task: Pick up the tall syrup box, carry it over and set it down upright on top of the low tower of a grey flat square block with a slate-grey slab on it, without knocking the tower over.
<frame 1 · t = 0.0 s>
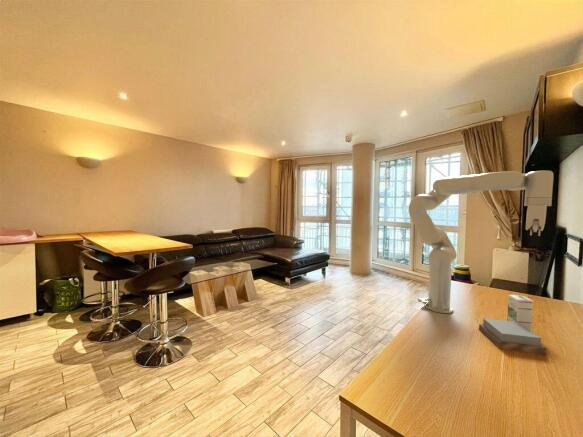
hand: (534, 244, 95), 37 cm above the table, tool pointing down, fingers open, 9 cm apart
slate-grey slab: (509, 334, 92), point 2 cm above the table
syrup box: (518, 331, 100), on the table
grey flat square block: (509, 342, 92), on the table
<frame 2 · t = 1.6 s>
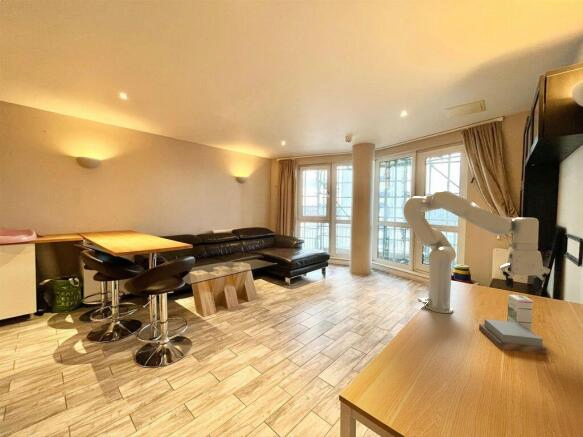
hand: (523, 287, 99), 19 cm above the table, tool pointing down, fingers open, 9 cm apart
slate-grey slab: (510, 335, 92), point 2 cm above the table, touching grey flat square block
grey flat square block: (509, 342, 92), on the table, touching slate-grey slab
everything else where it was.
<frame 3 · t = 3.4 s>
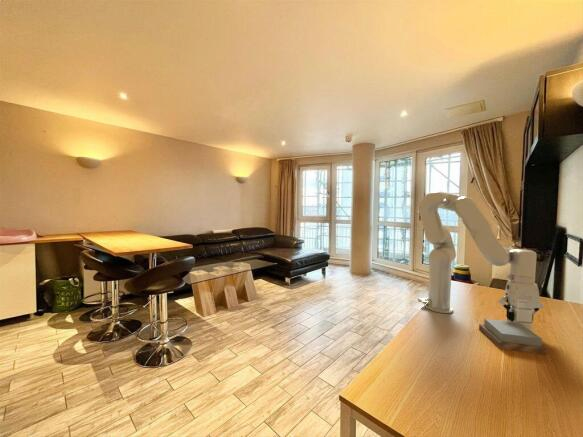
hand: (519, 320, 100), 4 cm above the table, tool pointing down, fingers closed on syrup box, 5 cm apart
slate-grey slab: (510, 335, 92), point 2 cm above the table
syrup box: (518, 331, 100), on the table, touching gripper
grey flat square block: (509, 342, 92), on the table
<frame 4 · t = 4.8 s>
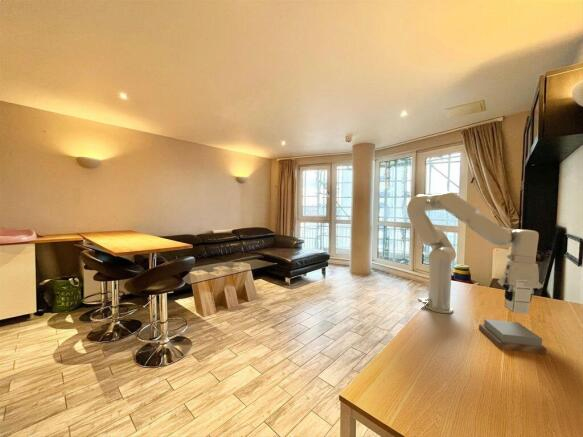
hand: (517, 300, 100), 13 cm above the table, tool pointing down, fingers closed on syrup box, 5 cm apart
slate-grey slab: (510, 335, 92), point 2 cm above the table, touching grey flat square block
syrup box: (516, 311, 100), point 8 cm above the table, touching gripper
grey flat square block: (509, 342, 92), on the table, touching slate-grey slab
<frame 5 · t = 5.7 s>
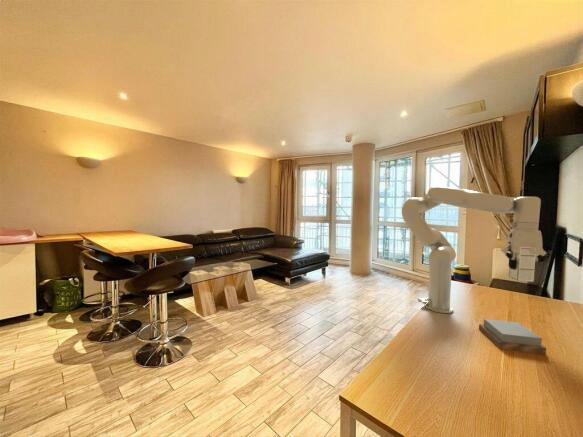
hand: (521, 269, 99), 26 cm above the table, tool pointing down, fingers closed on syrup box, 5 cm apart
slate-grey slab: (510, 335, 92), point 2 cm above the table
syrup box: (520, 279, 99), point 22 cm above the table, touching gripper
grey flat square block: (509, 342, 92), on the table
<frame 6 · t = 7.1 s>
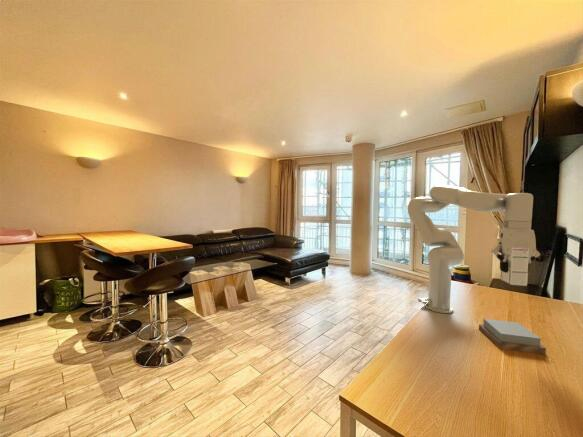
hand: (513, 271, 91), 27 cm above the table, tool pointing down, fingers closed on syrup box, 5 cm apart
syrup box: (513, 283, 91), point 23 cm above the table, touching gripper
everything else where it was.
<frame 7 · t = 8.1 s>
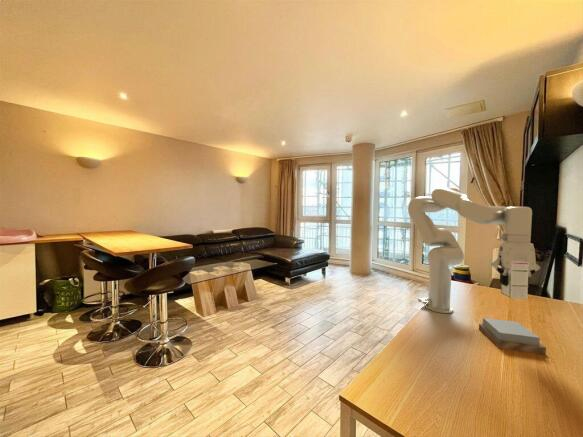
hand: (513, 285, 91), 22 cm above the table, tool pointing down, fingers closed on syrup box, 5 cm apart
slate-grey slab: (508, 334, 92), point 2 cm above the table, touching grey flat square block
syrup box: (513, 296, 91), point 18 cm above the table, touching gripper
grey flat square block: (509, 342, 92), on the table, touching slate-grey slab
when the fingers open (11 cm above the table, at t = 10.9 s): syrup box drops 1 cm, resting on slate-grey slab.
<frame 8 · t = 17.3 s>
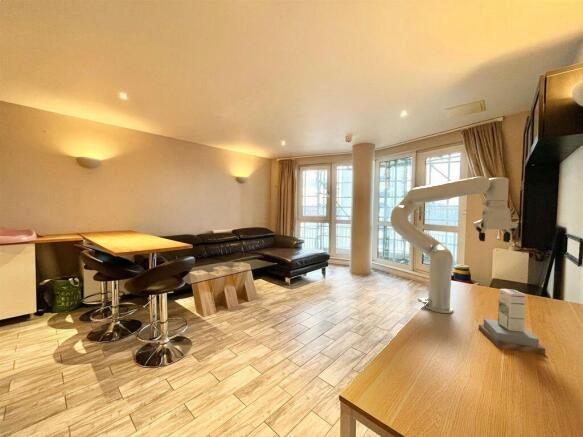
hand: (494, 241, 110), 36 cm above the table, tool pointing down, fingers open, 9 cm apart
slate-grey slab: (508, 335, 92), point 2 cm above the table, touching syrup box, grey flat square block
syrup box: (510, 328, 92), point 5 cm above the table, touching slate-grey slab
everything else where it was.
at the end: syrup box 0.4 cm off-centre on the slate-grey slab, point 3.0 cm above the slate-grey slab's base; slate-grey slab 0.1 cm off-centre on the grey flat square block, point 3.0 cm above the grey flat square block's base; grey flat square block moved 0.8 cm from its start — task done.
